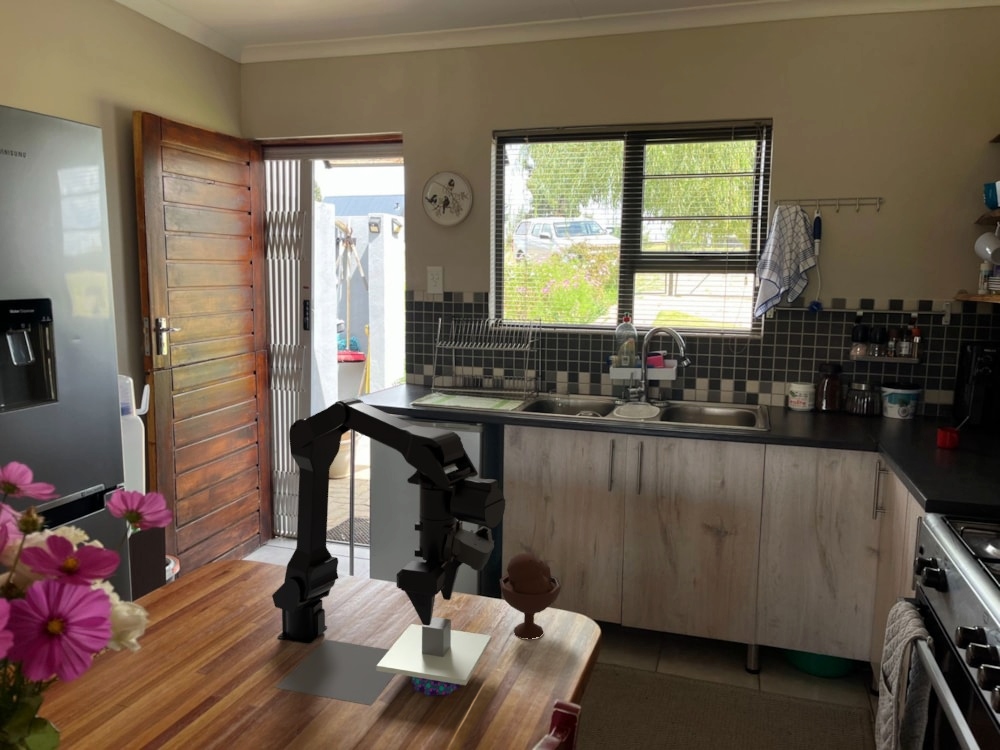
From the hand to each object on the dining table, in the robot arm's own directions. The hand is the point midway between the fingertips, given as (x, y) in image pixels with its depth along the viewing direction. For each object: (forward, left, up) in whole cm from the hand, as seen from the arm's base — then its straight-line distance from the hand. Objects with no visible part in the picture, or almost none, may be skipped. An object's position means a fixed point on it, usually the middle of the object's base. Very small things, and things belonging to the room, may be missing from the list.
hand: (437, 611), depth 117 cm
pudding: (0, 0, -13) cm, 13 cm away
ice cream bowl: (+10, +21, -12) cm, 26 cm away
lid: (0, 0, -7) cm, 7 cm away
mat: (-15, -1, -12) cm, 19 cm away
